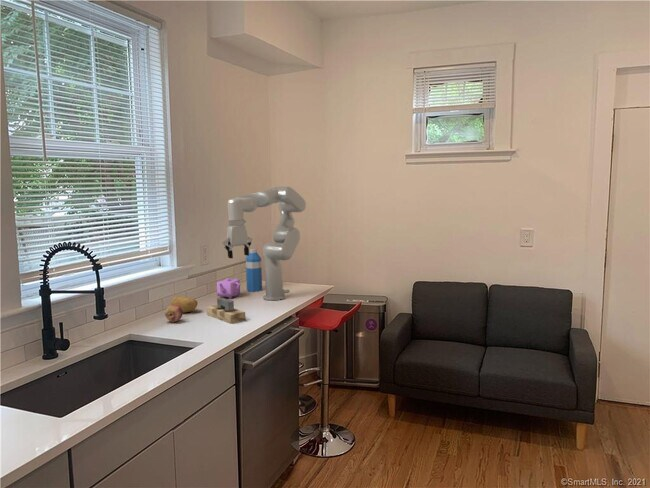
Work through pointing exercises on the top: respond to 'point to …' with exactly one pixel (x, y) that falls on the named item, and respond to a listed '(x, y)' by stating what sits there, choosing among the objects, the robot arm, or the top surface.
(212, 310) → the wooden block with holes
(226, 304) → the gray pronged block
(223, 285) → the teapot
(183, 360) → the top surface
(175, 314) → the fruit
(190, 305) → the potato
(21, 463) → the top surface
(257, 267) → the water bottle
